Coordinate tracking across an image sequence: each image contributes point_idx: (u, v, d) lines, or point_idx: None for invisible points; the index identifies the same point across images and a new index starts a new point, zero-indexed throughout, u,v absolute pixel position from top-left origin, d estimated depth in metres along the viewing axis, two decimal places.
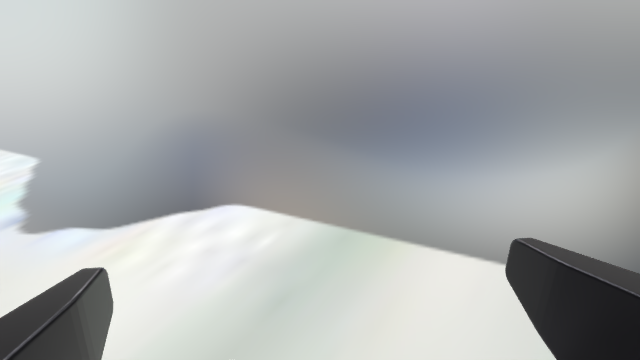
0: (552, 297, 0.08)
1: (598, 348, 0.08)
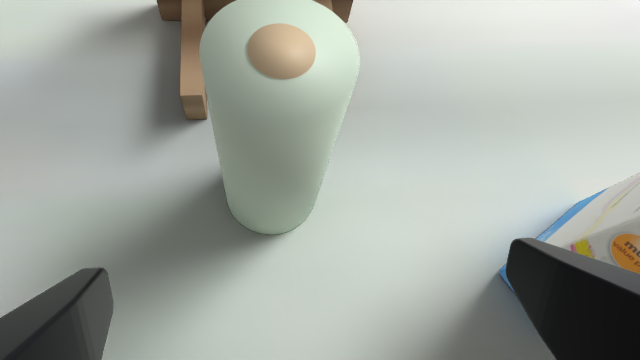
0: (552, 297, 0.08)
1: (598, 348, 0.08)
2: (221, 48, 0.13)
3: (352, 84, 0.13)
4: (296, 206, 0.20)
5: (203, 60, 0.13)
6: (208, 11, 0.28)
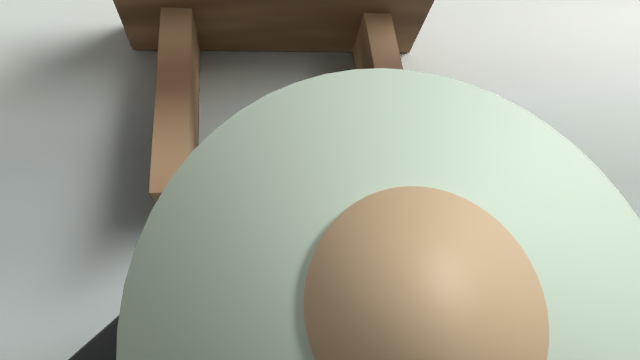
0: None
1: None
2: (206, 308, 0.03)
3: None
4: None
5: None
6: (203, 37, 0.18)
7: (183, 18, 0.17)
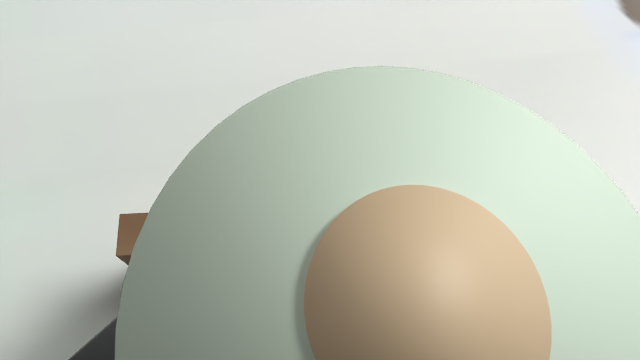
0: None
1: None
2: (205, 307, 0.03)
3: None
4: None
5: None
6: None
7: None
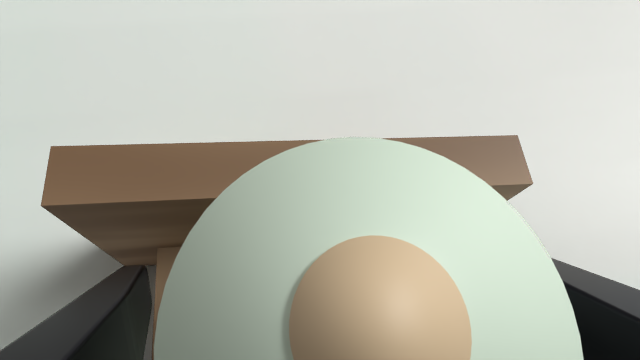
0: None
1: None
2: (217, 330, 0.05)
3: None
4: None
5: None
6: None
7: None
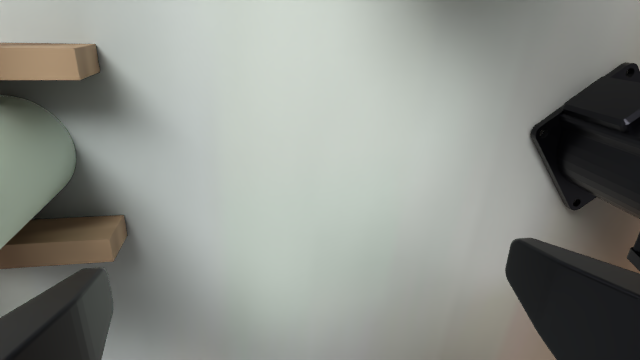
0: (552, 297, 0.08)
1: (598, 348, 0.08)
2: None
3: None
4: (27, 159, 0.16)
5: None
6: None
7: None
